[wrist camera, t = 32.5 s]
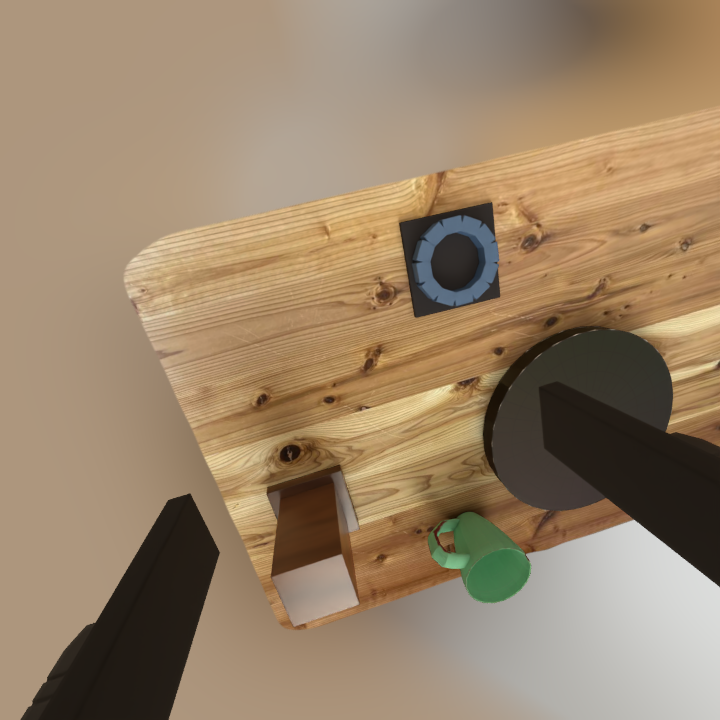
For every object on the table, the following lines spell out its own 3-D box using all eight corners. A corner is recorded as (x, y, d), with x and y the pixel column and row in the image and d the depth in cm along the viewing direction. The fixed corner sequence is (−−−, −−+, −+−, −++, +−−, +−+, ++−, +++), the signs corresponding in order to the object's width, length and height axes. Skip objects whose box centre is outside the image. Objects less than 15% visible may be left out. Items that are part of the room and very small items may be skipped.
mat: (414, 317, 45) (416, 317, 44) (399, 223, 41) (400, 222, 41) (498, 296, 46) (500, 297, 45) (489, 202, 42) (492, 202, 42)
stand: (267, 487, 49) (252, 571, 35) (340, 464, 49) (351, 538, 36) (290, 544, 52) (284, 640, 39) (358, 522, 53) (375, 609, 40)
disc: (600, 282, 47) (618, 283, 45) (683, 413, 56) (703, 421, 54) (444, 424, 50) (452, 434, 47) (546, 527, 59) (558, 541, 56)
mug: (503, 505, 56) (543, 555, 47) (478, 551, 58) (511, 607, 49) (427, 486, 53) (453, 535, 43) (403, 536, 55) (423, 593, 45)
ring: (405, 229, 41) (409, 228, 39) (485, 208, 42) (493, 206, 40) (421, 312, 44) (425, 315, 43) (495, 291, 45) (503, 293, 43)
